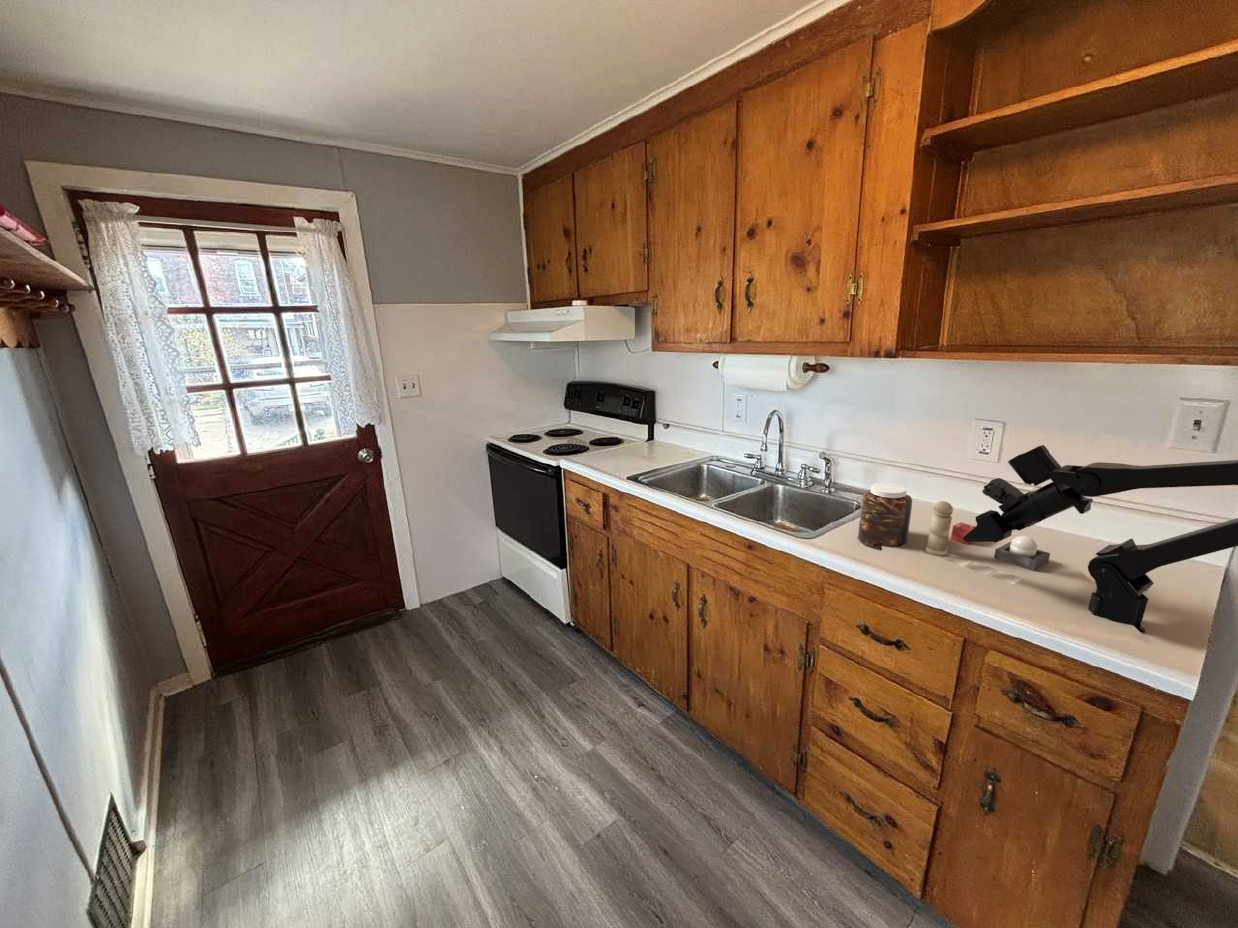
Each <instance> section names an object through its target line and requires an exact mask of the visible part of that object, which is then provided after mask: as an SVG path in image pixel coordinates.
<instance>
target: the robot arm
mask: <svg viewBox="0 0 1238 928" xmlns="http://www.w3.org/2000/svg"><path fill="white" fill-rule="evenodd" d="M1007 463H1008V465H1009V466H1010V467H1011V468H1012V470H1013V471H1014V472H1015V473H1016V475H1018V476H1019V478H1020V479H1021V480H1022V481H1023V483H1024V484H1025V485H1028V486H1031V485H1033V486H1034V487H1037V486H1039V485H1041V484H1044V483H1045V482H1047V481H1049V480H1051V482H1049V483H1048V484H1045V485H1043V486H1041V487H1040V488H1038V489H1035V490H1034V491H1033V490H1032V491H1028V492H1026V493H1024V492H1023V491H1021V490H1020V489H1018V488H1017V487H1016V486H1015V485H1013V484H1011V483H1009V482H1008V481H1007V480H1005V479H1004V478H1000V477H996V478H994V479H991V480H990V481H989V482H988V483H987V484H985V485H984V486H983V490H981V493H982V494H983V495H985V496H986V497H989V498H990V499H992V500H993V501H994V502H996V503H998V504H1000V505H998V506H997V507H998V509H999V510H1000V511H1001V512H1002V513H1000V512H999V511H998V510H993V509H990V510H987V511H985V512H983V513H981V514H979V515H976V516H975V522H976V526H975V528H974V529H972V530H971V531H970V532H969V533H968V534H966V535H965V536H964V537H963V539H964V541H965V542H973V543H983V542H984V543H985V542H986V543H993V544H997V543H999V542H1001V541H1003V540H1005V539H1007V538H1010V537H1012V533H1013V531H1022V530H1024V529H1026V528H1030V527H1031V526H1034V525H1036V524H1038V523H1040V522H1042V521H1044V520H1046V519H1048V518H1052V517H1053V516H1055V515H1058V514H1059V513H1062V512H1065V511H1066V510H1069V509H1072V508H1074V509H1076V511H1077V512H1078V513H1079V514H1081V515H1082V514H1085V513H1088V512H1090V511H1091V507H1092V503H1093V501H1094V500H1093V498H1095V497H1101V496H1106V495H1113V494H1119V493H1123V492H1127V491H1128V492H1129V491H1133V490H1139V489H1161V488H1162V489H1163V488H1165V489H1166V488H1189V487H1190V488H1191V487H1215V486H1216V487H1220V486H1223V487H1224V486H1238V459H1233V460H1232V459H1231V460H1230V459H1229V460H1217V461H1216V460H1215V461H1203V462H1202V461H1201V462H1185V463H1170V464H1169V463H1168V464H1153V465H1152V464H1150V465H1135V464H1126V463H1119V462H1101V461H1100V462H1097V461H1096V462H1092V463H1089V464H1087V465H1075V464H1074V465H1072V464H1065V465H1063V466H1061V464H1060V463H1059V461H1057V460H1056V459H1055V457H1054V456H1053V455H1052V454H1051V453H1050V451H1049V449H1048V447H1046V446H1045V445H1043V444H1041V445H1038V446H1036V447H1035V448H1033V449H1031V450H1029V451H1026V452H1023V453H1020V454H1018V455H1016V456H1015V457H1012V458H1011V459H1009V460H1008V461H1007ZM1235 547H1238V517H1236V518H1233V519H1230V520H1226V521H1223V522H1220V523H1217V524H1213V525H1209V526H1206V527H1203V528H1200V529H1197V530H1194V531H1193V530H1192V531H1189V532H1185V533H1183V534H1180V535H1177V536H1174V537H1170V538H1166V539H1163V540H1160V541H1156V542H1153V543H1152V542H1151V543H1149V544H1136V543H1135V541H1134V539H1133V538H1129V539H1127V540H1125V541H1123V542H1121V543H1119V544H1108V545H1107V546H1105V547H1104V548H1102V549H1100V550H1099V551H1097V552H1096V553H1095V555H1096V556H1095V557H1094V558H1092V559H1090V560H1089V562H1088V565H1087V569H1088V570H1087V571H1088V573H1089V575H1090V577H1091V578H1093V579H1094V582H1095V586H1096V589H1095V592H1094V591H1093V592H1092V593H1091V595H1090V599H1089V604H1088V607H1087V610H1088V611H1089V612H1090V613H1091V614H1092V615H1093V616H1095V617H1099V618H1102V619H1103V618H1104V619H1107V620H1109V621H1111V622H1115V623H1118V624H1123V625H1133V627H1134V628H1135V629H1136V630H1137V631H1138V632H1139V633H1145V632H1146V629H1145V628H1144V627H1143V626H1142V623H1143V622H1142V621H1143V618H1144V616H1145V613H1146V608H1147V605H1148V602H1149V598H1148V597H1147V596H1146V595H1145V594H1144V593H1145V592H1147V591H1148V590H1149V589H1150V588H1151V587H1152V586H1153V585H1154V581H1153V580H1152V579H1151V577H1149V576H1148V573H1150V572H1151V571H1154V570H1155V569H1157V568H1159V567H1160V568H1161V567H1163V566H1167V565H1171V564H1174V563H1175V564H1176V563H1178V562H1179V563H1180V562H1183V561H1187V560H1190V559H1194V558H1197V557H1201V556H1206V555H1208V554H1209V555H1210V554H1213V553H1216V552H1220V551H1224V550H1227V549H1233V548H1235Z"/></svg>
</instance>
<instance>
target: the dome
mask: <svg viewBox="0 0 1238 928" xmlns="http://www.w3.org/2000/svg"><path fill="white" fill-rule="evenodd" d="M1010 542H1011V545H1010V550H1009V552H1012V553H1015V554H1018V555H1021V556H1024V557H1028V558H1034V557H1035V555H1036V551H1037V549H1038V545H1037V542H1036V540H1035V539H1033V538H1032V537H1030V536H1027V535H1018V536H1016V537H1014V538H1013V539H1012V540H1011V541H1010Z"/></svg>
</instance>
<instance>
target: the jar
mask: <svg viewBox="0 0 1238 928" xmlns="http://www.w3.org/2000/svg"><path fill="white" fill-rule="evenodd" d="M861 500H862V501H861V508H860V514H859V516H860V517H859V522H858V533H857V540H858V541H859V542H860V543H861V544H862V545H864V546H866V547H869V548H872V549H875V550H880V551H883V547H887V548H888V547H889V548H893V547H894V548H895V547H903V546H905V545H907V543H908V537H909V532H910V531H909V530H910V526H911V525H910V524H911V516H912V509H913V499H912V497H911V496H910V495H909V494H907V487H905V486H903V485H900V484H896V483H889V482H876V483H873V484H871V485H870V489H869V490H866V491H865V492H864V493H863V496H862V499H861Z"/></svg>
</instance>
